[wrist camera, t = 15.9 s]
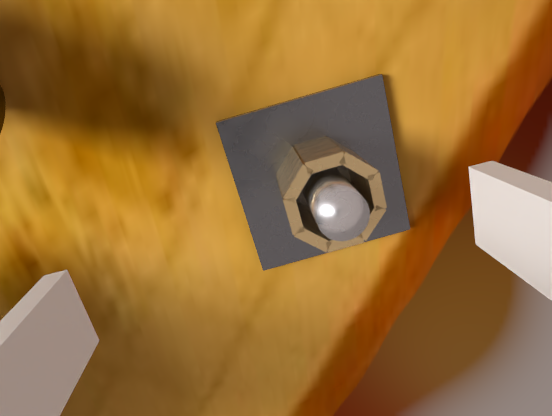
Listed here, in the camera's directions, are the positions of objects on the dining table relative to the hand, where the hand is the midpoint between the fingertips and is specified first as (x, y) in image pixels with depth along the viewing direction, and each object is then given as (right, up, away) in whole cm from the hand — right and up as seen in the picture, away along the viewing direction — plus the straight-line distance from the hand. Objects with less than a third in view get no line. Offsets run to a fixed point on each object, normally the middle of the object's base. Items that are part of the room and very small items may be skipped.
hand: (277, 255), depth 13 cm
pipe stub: (+4, +5, +29) cm, 30 cm away
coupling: (+4, +4, +28) cm, 29 cm away
